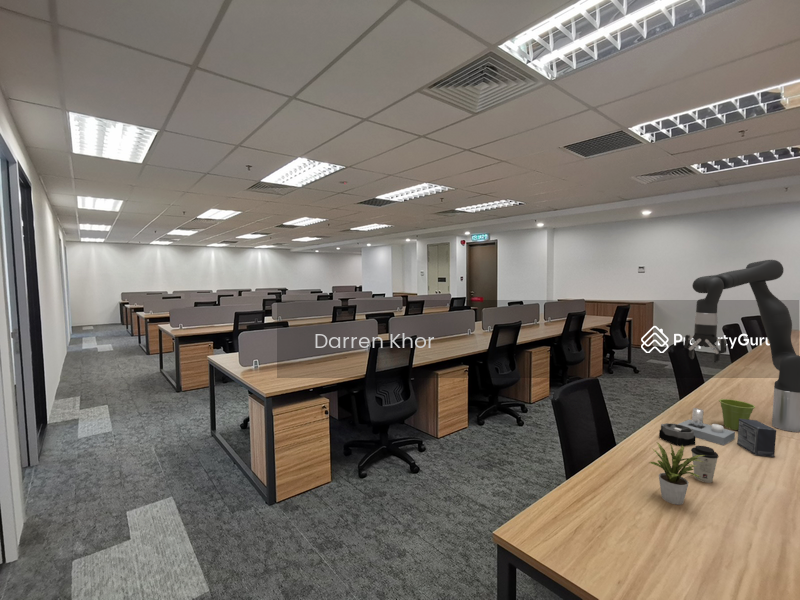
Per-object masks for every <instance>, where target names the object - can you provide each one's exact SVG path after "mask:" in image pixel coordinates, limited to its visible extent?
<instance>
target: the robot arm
mask: <svg viewBox="0 0 800 600" xmlns="http://www.w3.org/2000/svg"><path fill="white" fill-rule="evenodd" d="M783 274H784V266H783V264H782V263H781V261H778V260H777V259H764V260H759V261H755V262H750V263H748V264H747V265H746V267H745V268H742V269H735V270H731V271H726V272H722V273H718V274H714V275H713V274H711V275H705V276H704V275H703V276H700V277H697V278H696V279H694V281H693V283H692V289H693V291H695V292H696V293H698V294H706V296H705V297H704V298H700V299H698V300H696V306H695V307H696V309H695V316H694V331H693V333H694V335H691V334H686V335H685V336H684V344H683V348H684V349H687V350H688V357H689V359H691V360H693V359H694V358H695V349H696V348H697V347H705V348H710V349H711V350H712V351H713V352H714V357H713V358H714V359H713V363H719V362H720V361H721V354H725V353H727V339H726V338H718V336H717V335H718V324H719V322H718V304H719V301H720V299H721V296H722V294H723V292H724V290H728V289H733V288H735V287H740V286H742V285H743V286H744V285H746V284H749V286H750V288H751V291H752V293H753V295H754V298H755V301H756V305H757V308H758V311H759V315H760V318H761V322H762V325H763V327H764V331H765V335H766V338H767V339H768V342H769V347H770V348H769V349H770V353H771V359H772V364H773V366H774V368H775V369H776V370H777V371H779V372H778V379H777V380H775V382H774V385H773V387H774V388H773V401H772V403H773V404H772V417H771V426H772V427H773V428H774V429H779V430H782V431H787V432H791V431H792V432H791V433H800V354H799V355H797V353H796V351H795V349H794V346H793V343H792V329H793V321H792V317H791V314H790V310H789V308H788V307H787V306H786V304H785V303H784V302H782V301H781V300H780V299H779V298H778V297H777V296H776V295H774V294H773V293H772V291H771V290H770V288H769V286H768V284H767V282H770V281H775V280H777V279H780V278H781V277H782V276H783ZM692 340H694V342H693V343H692V345H691V344H690V343H691V341H692ZM717 342H718V343H719V344H720V345H719V346H720V349H719V347H718V345H717V344H716V343H717Z"/></svg>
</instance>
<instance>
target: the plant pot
mask: <svg viewBox="0 0 800 600" xmlns="http://www.w3.org/2000/svg"><path fill="white" fill-rule="evenodd" d="M718 401H719V402H720V407H721V413H722V420H723V427H725V429H728V430H731V431H738V428H739V419H748V420H750V418H751V415H752V413H753V411H754V409H756V406H755V405H754V404H752V403H749V402H745V401H741V400H736V399H731V398H730V399H728V398H721V399H718Z"/></svg>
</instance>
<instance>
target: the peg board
mask: <svg viewBox="0 0 800 600" xmlns="http://www.w3.org/2000/svg"><path fill="white" fill-rule="evenodd" d="M677 424H678V425H682V426H685V427H688V428H691V429H692V430H693V431H694V436H695V437H696V438H697V439H699V440H703V441H707V442H710V443H714V444H717V445H721V446H725V445H727V444H729V443H730V442H732V441H734V440H735V439H736V437H735V436H736V431H735V430H731V429H728V428H724V425H721V424H718V423H712V424H707V423H704V422H703V426H702V429H700V428H696V427H693V426H692V419H687V420H684V421H682V422H679V423H677Z"/></svg>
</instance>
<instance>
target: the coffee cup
mask: <svg viewBox="0 0 800 600" xmlns="http://www.w3.org/2000/svg"><path fill="white" fill-rule="evenodd" d="M690 451H691V454H692V456H691V457H693V456H697V455H705V456H699V457H697V458H701V459H695V460H700V461H703V462H700V461H692V465H695V466H694V467H692V469H694V470H693V473H695V474H696V475H699V478H698V477H697V476H695V475H693V477H694V479H695V480H697V481H699V482H703V483H709V484H710V483H713V480H714V476H715V475H714V474H715V471H716V467H717V462H718V458H719V455H718V453H717V452H716V451H715V449H714V448H712V447H710V446H707V445H696V446H695V445H694V447H692V448H691V450H690ZM700 476H701V477H700Z"/></svg>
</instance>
